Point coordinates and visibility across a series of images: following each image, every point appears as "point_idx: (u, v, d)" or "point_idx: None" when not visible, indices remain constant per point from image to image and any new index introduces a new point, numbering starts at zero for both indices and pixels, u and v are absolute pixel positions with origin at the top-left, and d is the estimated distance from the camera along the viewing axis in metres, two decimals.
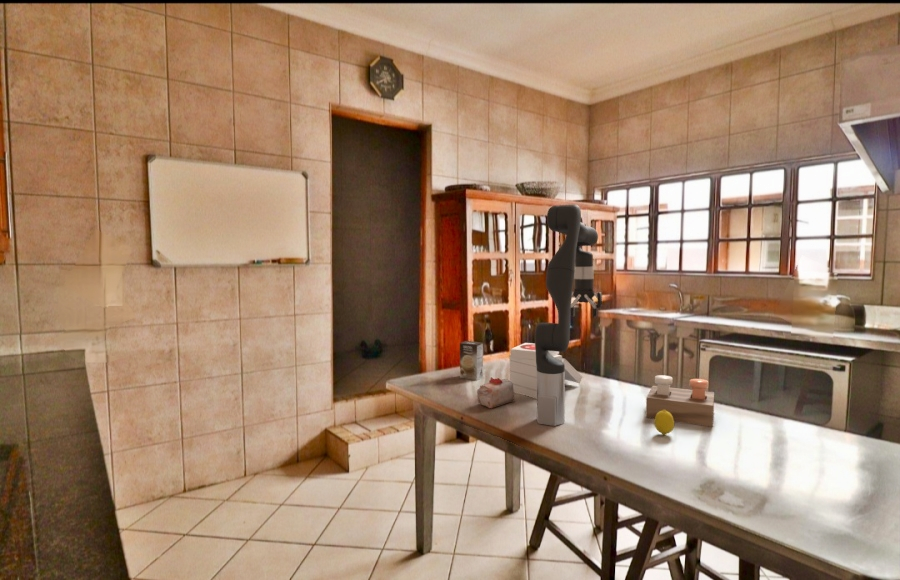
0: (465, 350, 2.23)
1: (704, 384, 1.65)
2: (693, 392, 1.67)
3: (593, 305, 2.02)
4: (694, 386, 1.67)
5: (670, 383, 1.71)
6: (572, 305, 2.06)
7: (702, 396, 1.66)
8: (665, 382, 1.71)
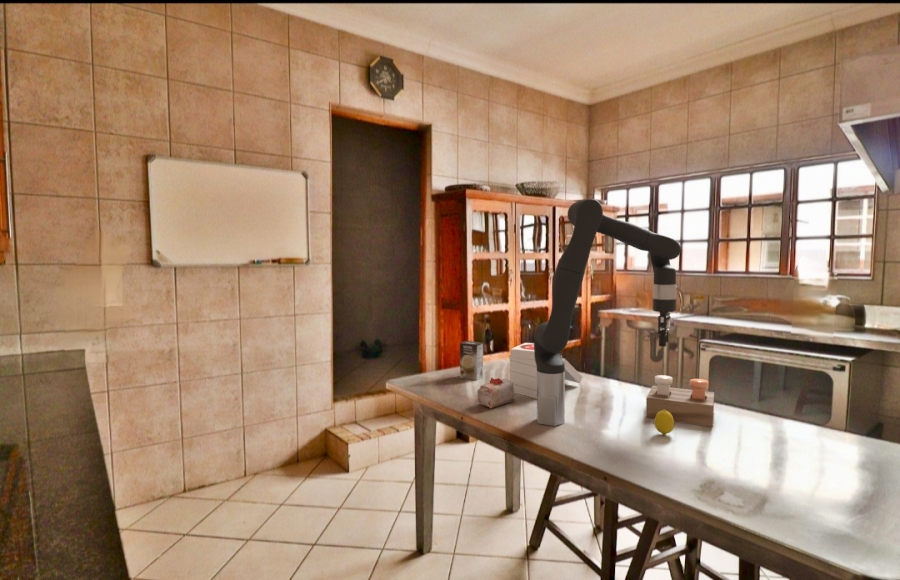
0: (465, 350, 2.23)
1: (704, 384, 1.65)
2: (693, 392, 1.67)
3: (668, 328, 1.75)
4: (694, 386, 1.67)
5: (670, 383, 1.71)
6: (666, 332, 1.68)
7: (702, 396, 1.66)
8: (665, 382, 1.71)
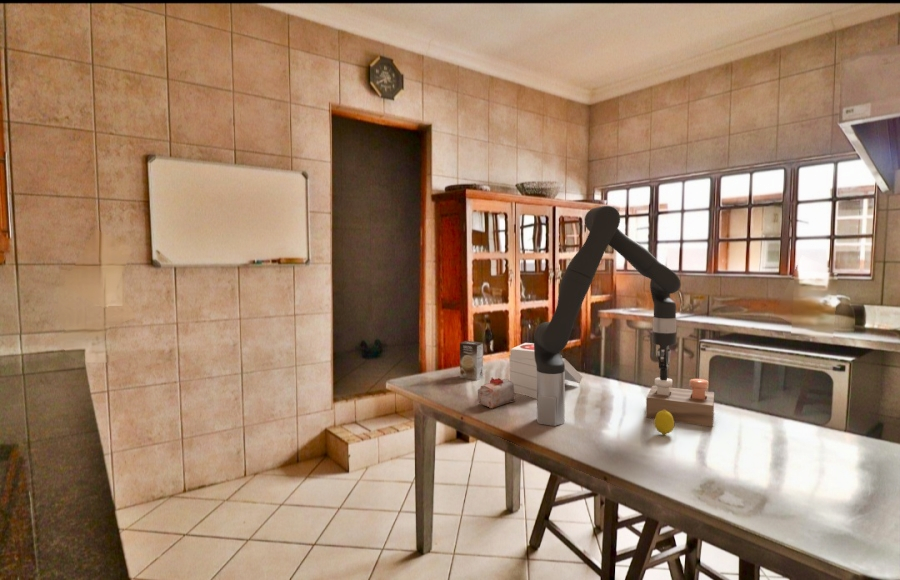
0: (465, 350, 2.23)
1: (704, 384, 1.65)
2: (693, 392, 1.67)
3: (667, 365, 1.73)
4: (694, 386, 1.67)
5: (670, 385, 1.71)
6: (667, 366, 1.72)
7: (702, 396, 1.66)
8: (665, 384, 1.71)
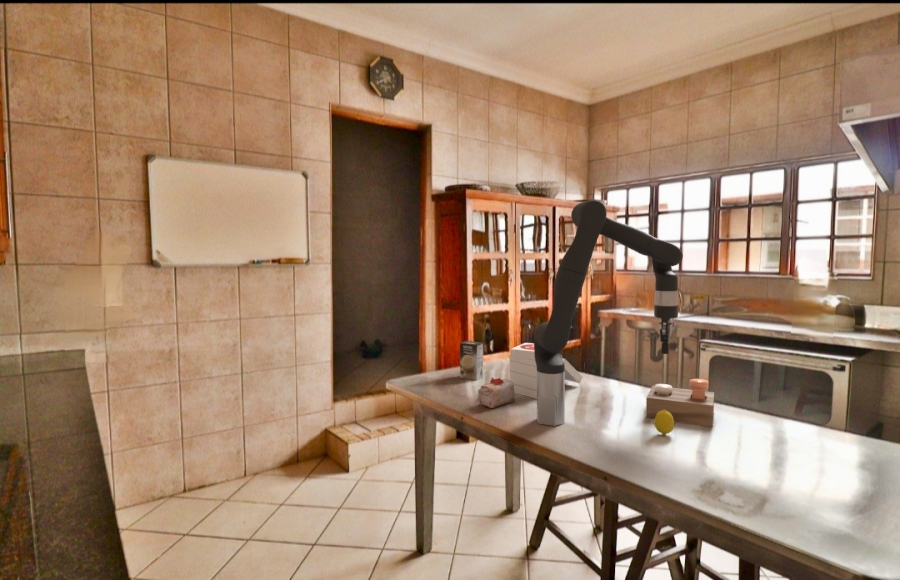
0: (465, 350, 2.23)
1: (704, 384, 1.65)
2: (693, 392, 1.67)
3: (669, 339, 1.72)
4: (694, 386, 1.67)
5: (670, 392, 1.71)
6: (669, 340, 1.71)
7: (702, 396, 1.66)
8: (665, 390, 1.71)
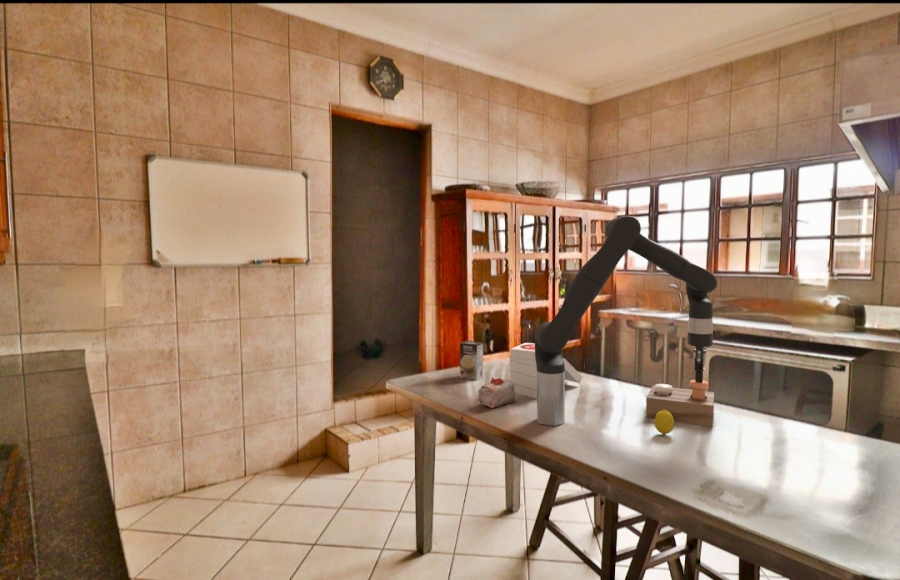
0: (465, 350, 2.23)
1: (704, 385, 1.65)
2: (693, 393, 1.67)
3: (703, 367, 1.67)
4: (694, 387, 1.67)
5: (670, 392, 1.71)
6: None
7: (702, 397, 1.66)
8: (665, 390, 1.71)
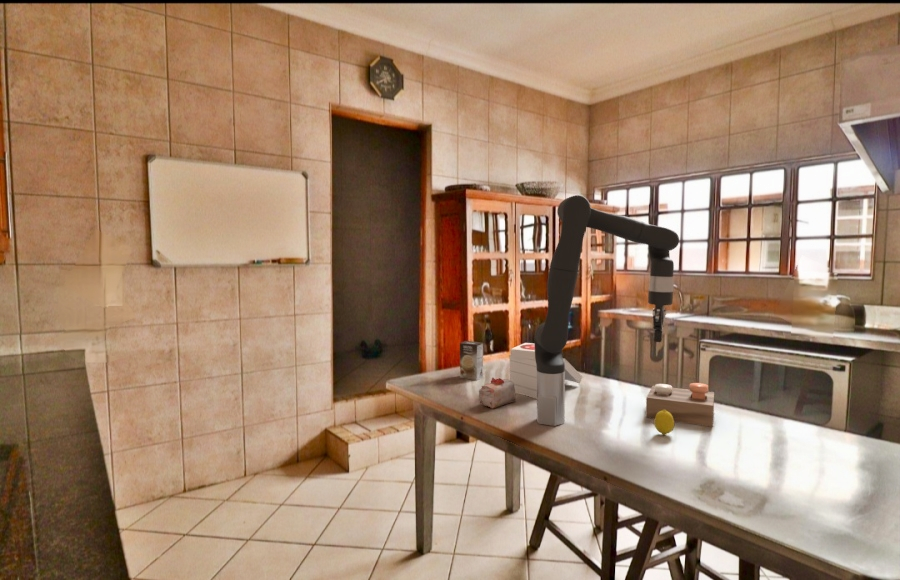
0: (465, 350, 2.23)
1: (704, 388, 1.65)
2: (693, 396, 1.68)
3: (662, 326, 1.66)
4: (694, 390, 1.67)
5: (670, 392, 1.71)
6: (662, 327, 1.65)
7: None
8: (665, 390, 1.71)
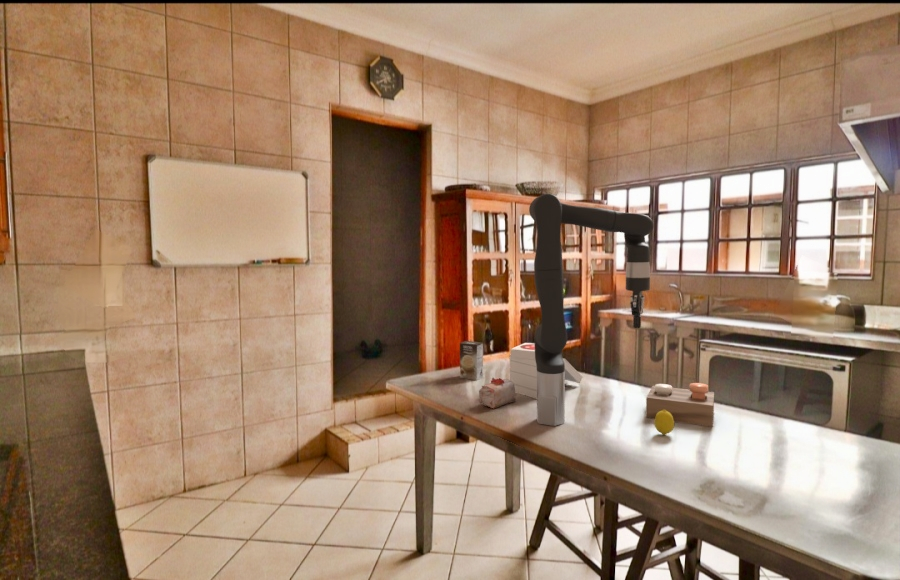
0: (465, 350, 2.23)
1: (704, 388, 1.65)
2: (693, 396, 1.68)
3: (641, 312, 1.66)
4: (694, 390, 1.67)
5: (670, 392, 1.71)
6: (640, 313, 1.65)
7: None
8: (665, 390, 1.71)
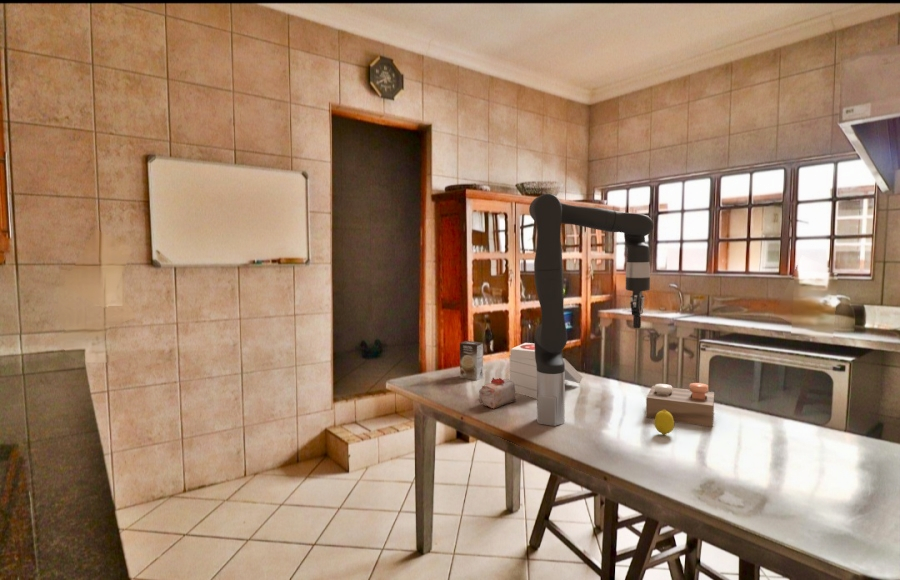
0: (465, 350, 2.23)
1: (704, 388, 1.65)
2: (693, 396, 1.68)
3: (641, 312, 1.66)
4: (694, 390, 1.67)
5: (670, 392, 1.71)
6: (640, 313, 1.65)
7: None
8: (665, 390, 1.71)
